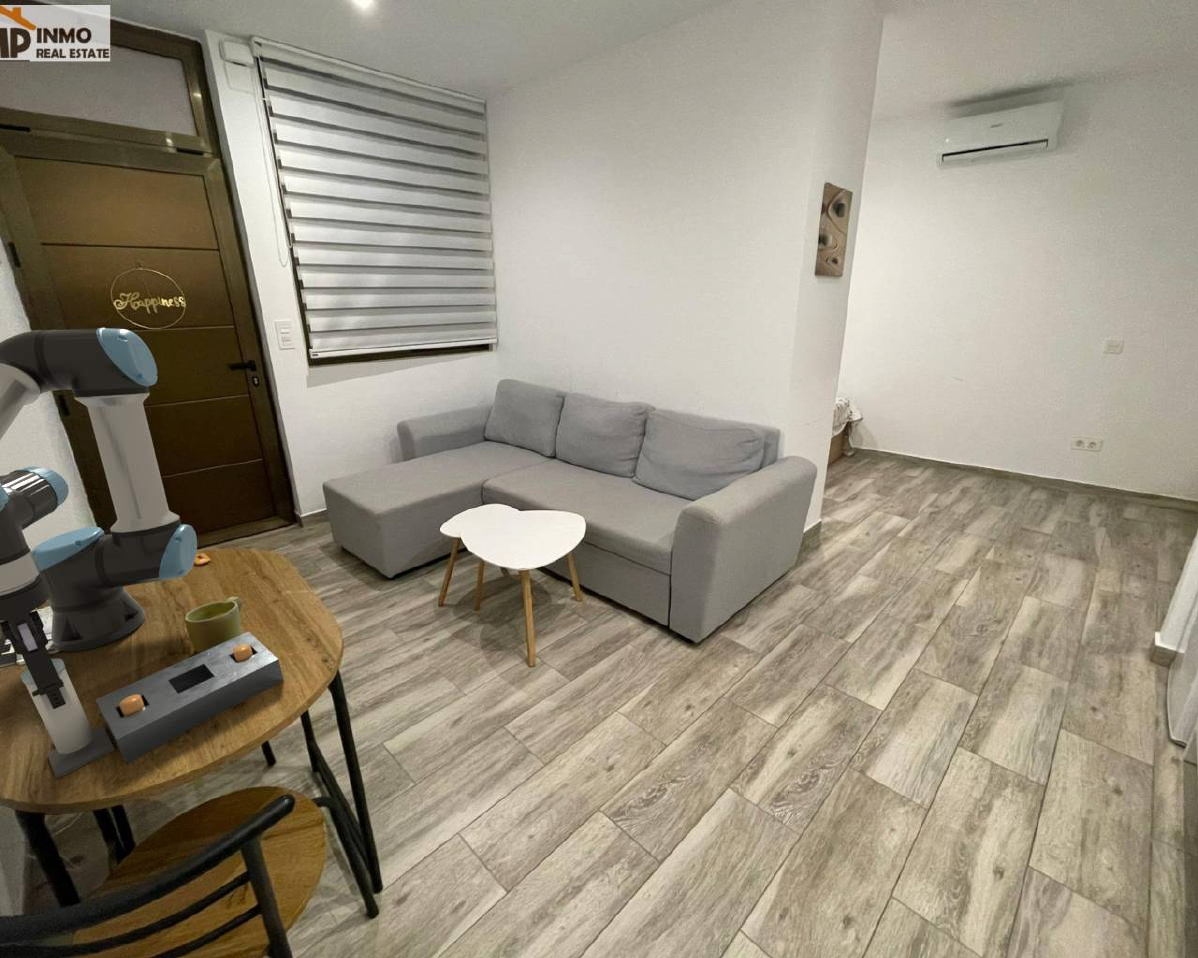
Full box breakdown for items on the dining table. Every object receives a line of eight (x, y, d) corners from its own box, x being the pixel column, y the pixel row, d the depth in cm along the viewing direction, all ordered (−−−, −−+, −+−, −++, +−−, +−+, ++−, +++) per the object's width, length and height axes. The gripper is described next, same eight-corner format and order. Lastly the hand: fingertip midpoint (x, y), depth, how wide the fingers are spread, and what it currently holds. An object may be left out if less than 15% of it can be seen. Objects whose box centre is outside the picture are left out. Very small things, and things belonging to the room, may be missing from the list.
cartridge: (54, 744, 85) (18, 670, 80) (91, 727, 89) (59, 654, 83) (59, 759, 83) (22, 683, 77) (98, 740, 86) (65, 666, 81)
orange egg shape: (238, 673, 103) (230, 649, 101) (253, 666, 105) (247, 642, 103) (243, 679, 102) (236, 655, 100) (259, 671, 104) (252, 647, 102)
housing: (105, 721, 93) (95, 699, 91) (254, 651, 110) (248, 631, 109) (126, 763, 84) (116, 739, 83) (283, 679, 102) (278, 659, 100)
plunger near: (128, 727, 91) (117, 701, 89) (148, 717, 93) (138, 692, 91) (132, 735, 89) (121, 709, 87) (153, 725, 91) (142, 699, 89)
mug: (218, 656, 106) (202, 610, 105) (183, 663, 109) (167, 617, 108) (270, 630, 118) (256, 588, 117) (237, 637, 120) (223, 596, 120)
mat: (48, 755, 86) (47, 753, 86) (104, 729, 91) (103, 726, 91) (56, 779, 82) (55, 776, 82) (114, 749, 87) (113, 746, 87)
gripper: (-41, 576, 77) (20, 701, 86) (-30, 619, 67) (39, 756, 76) (31, 557, 83) (82, 675, 91) (51, 594, 73) (106, 723, 81)
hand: (62, 711), depth 83 cm, fingers closed on cartridge, 4 cm apart
